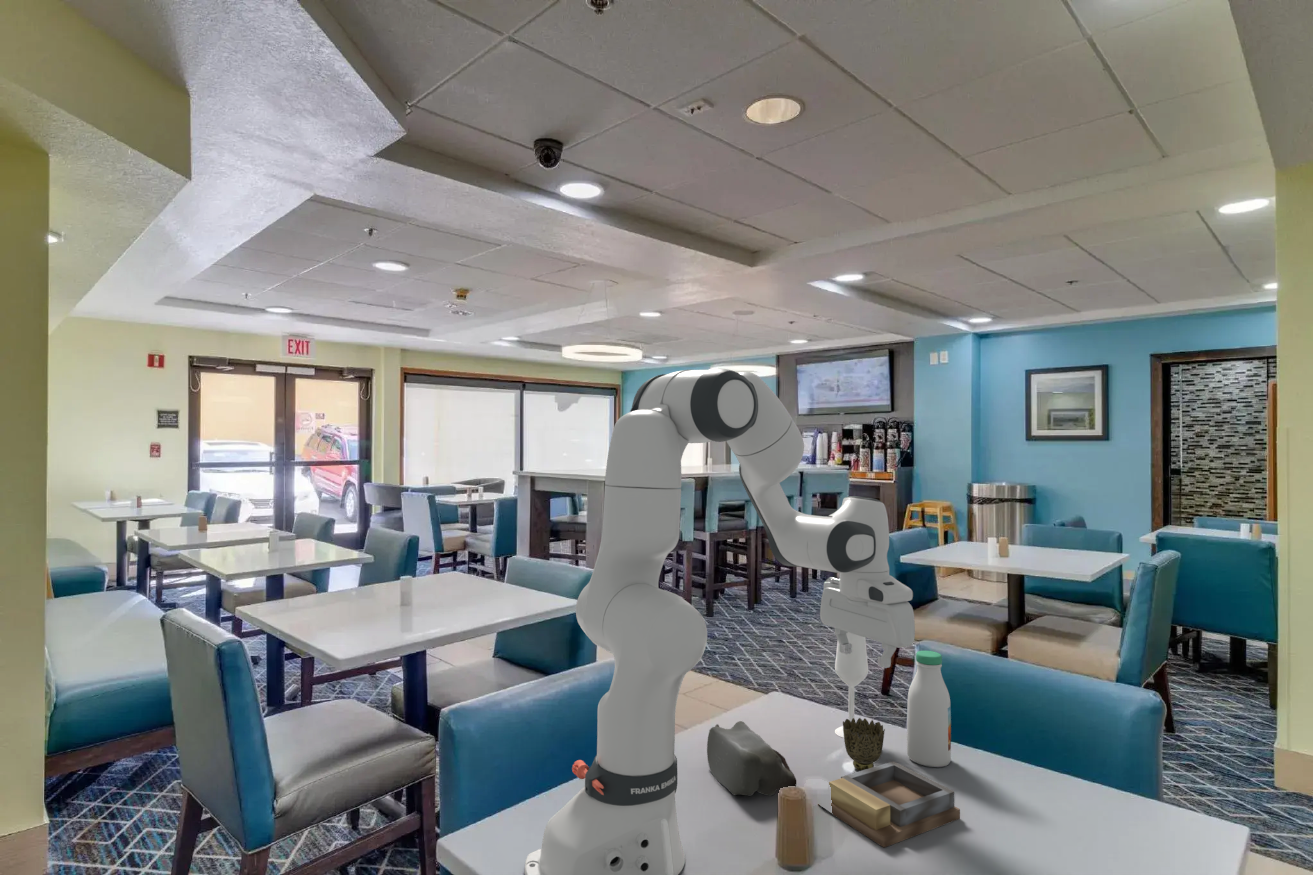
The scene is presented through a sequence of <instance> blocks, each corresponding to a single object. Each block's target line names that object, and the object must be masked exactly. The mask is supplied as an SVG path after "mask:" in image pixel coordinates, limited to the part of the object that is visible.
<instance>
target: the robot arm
mask: <svg viewBox="0 0 1313 875" xmlns="http://www.w3.org/2000/svg"><path fill="white" fill-rule="evenodd" d="M710 442H711V443H712V442H716V443H717V442H718V443H722V442H723V443H724V442H726V444H727V445H728V446H729V448H730V450H731V451H732V453H733V455H734V456H735V458H736V460H737V461H738V464H739V466H738V472H739V473H738V474H739V477H740V480H741V484H742V485H743V489H744V490H745V492H746V494H747V496H748V498H749V500H750V502H751V505H752V506H753V508H754V509H755V511H756V513H757V515H758V517H759V520H760V521H761V523H762V526H763V527H764V530H765V534H766V537H767V542H768V544H769V547H770V550H771V552H772V555H773V557H774V558H775V559H776V560H777V561H778V562H779V563H780V564H782V565H784V566H786V567H796V568H797V567H799V568H807V569H813V570H818V571H824V572H825V571H826V572H831V573H836V574H837V573H838V574H839V578H836V577H835V576H834V577H833V576H830V577H828V578H827V579H825V581H824V582H823V591H822V594H821V601H820V610H819V618H820V621H821V622H822V624H823V625H824V626H825V625H826V626H828V627H831V628H834V635H835V637H836V639H837V641H838V642H839V643H840V652H841V653H844V654H850V653H851V652H852V649H851V648H852V644H851V643H849V642H848V638H847V635H846V633H848V632H850V633H853V634H856V635H859V636H862V637H865V638H866V639H869V640H872V641H875V642H878V643H881V649H883V652H882V654H881V655H878V656H877V666H878V667H881V668H883V669H887V668H890V667H891V666H892V664H891V663H892V657H893V655H894V653H895V652H896V650H897V648H899V649H901V648H906V647H907V648H908V647H910V646H912V644H913V643H914V641H915V638H916V636H915V634H916V633H915V632H916V624H915V612H914V609H913V606H912V604H910V602H909V601H912V600H913V597H914V592H913V590H912V588H910V587H909V586H907V585H906V584H904V583H902V582H901V581H899V580H897V579H896V578H895V577H894V576H892V575H890V565H889V562H888V551H889V547H890V526H889V518H888V512H887V508H886V505H885V503H883V502H882V501H881V500H879V499H876V498H872V497H864V496H852V495H851V496H845V497H844V498H843V499H842V502H841V503H842V504H841V506H840V507H839V508H838V509H837V510H836V511H835V512H833V513H831V514H829V515H828V516H824V515H823V516H822V515H815V514H807V513H804V512H802V511H801V512H800V511H798V510H796V509H794V507H792V506H791V504H790V501H789V500H788V498H787V496H786V493H785V492H784V490H783V487H782V485H781V482H783V481H785V480H786V479H787V478H788V477H789V476H791V475H792V474H793V473H794V472H795V470H796V469H797V468H798V466H799V465H800V463H801V461H802V459H803V455H804V451H805V443H804V438H803V435H802V433H801V431H800V429H799V427H798V426H797V424H796V422H795V420H794V419H793V418H792V416H791V414H790V412H789V411H788V410H787V408H786V406H785V405H784V404H783V402H782V401H781V400H780V399H779V397H778V396H777V394H775V392H774V391H773V390H772V389H771V388H770V387H769V385H768V384H767V383H766V382H765V381H764V380H763V379H762V378H761V377H760V376H759V375H757V374H756V373H753V372H750V371H740V372H737V371H734V370H731V369H728V368H719V367H718V368H717V367H715V368H710V369H683V370H679V371H678V370H677V371H673V372H670V373H662V374H657V375H656V376H653V377H651V378H649V379H647V380H645V382H644V383H642V384H641V386H639V388H638V389H637V391H636V393H635V395H634V398H633V401H632V405H631V408H630V410H629V412H627V413H625V414H624V415H622V416H620V417H619V418H618V419H617V421H616V423H614V426H613V431H612V433H611V438H610V442H609V447H608V452H607V459H606V467H605V476H604V477H605V479H604V496H603V497H604V499H603V512H602V513H603V515H602V527H601V528H602V530H601V539H600V544H599V550H598V554H597V557H596V559H595V560H596V561H595V564H594V567H593V571H592V574H591V576H590V580H589V581H588V582H587V584H586V585H585V586H584V587H583V588H582V590H581V592H580V593H579V595H578V597H577V601H576V605H575V615H576V616H575V617H576V620H577V623H578V625H579V626H580V628H581V630H582V631H583V633H585V635H586V637H588V639H589V640H590V641H591V642H592V643H593V644H594V645H596V646H597V647H599V648H601V649H602V650H604V651H606V652H608V653H610V654H612V657H613V659H614V670H613V675H612V679H611V680H612V681H611V684H610V687H609V690H608V691H607V692H606V693H605V694H603V695H602V697H601V698H600V700H599V702H598V705H597V720H596V721H597V726H596V727H597V728H596V729H597V731H596V736H597V737H596V738H597V739H596V755H595V757H594V758H593V761H592V764H591V765H590V766H588V764H586V762H585V761H584V760H582V759H578V760H576V761H574V762H573V764H572V767H571V770H572V773H573V774H574V775H575V776H576V777H577V778H578V779H579V780H584V786H583V787H582V788H581V789H580V790H579V791H578V792H577V793H576V794H575V795H574V796H573V797H572V798H570V799H569V801H568V802H567V803H566V804H564V806H563V807H562V808H560V809H559V810H558V811H557V812H556V813H554V815H552V816H551V817H550V818H549V820H548V822H547V823H546V825H545V828H544V832H543V836H542V842H541V846H540V847H541V848H538V849H537V850H534V851H532V852H530V853H528V854H527V855H526V858H525V862H524V875H679V874H680V873H681V872H682V870H683V868H684V867H685V863H686V855H685V851H684V848H683V844H682V838H681V836H680V830H679V824H678V823H679V822H678V815H677V806H676V805H677V804H676V792H677V790H678V758H677V756H676V754H675V743H676V742H675V739H676V738H675V736H676V735H675V734H676V713H677V712H676V710H677V703H678V697H679V693H680V689H681V686H682V684H683V681H684V679H685V676H686V674H687V673H689V672H690V671H691V670H693V668H695V667H696V666H697V665H698V663H699V662H700V661H701V659H702V657H703V655H704V652H705V650H706V646H707V643H708V642H707V641H708V629H707V624H706V620H705V619H704V617H703V615H702V614H701V613H700V611H699V610H697V608H695V607H694V606H693V605H692V604H691V603H689V602H688V601H687V600H685V599H684V598H683V597H682V596H680V595H678V594H677V593H674V592H670V591H668V590H664V589H662V588H659V583H660V582H659V580H660V575H661V571H662V568H663V565H664V563H665V560H666V559H667V557H668V555H669V554H670V553H671V552H672V551H673V550H674V549H675V548H676V546H677V545H678V542H679V539H680V524H681V523H680V522H681V521H680V520H681V500H682V458H683V455H684V452H685V450H686V448H687V446H688V444H704V443H705V444H706V443H710Z"/></svg>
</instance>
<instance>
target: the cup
mask: <svg viewBox="0 0 1313 875" xmlns="http://www.w3.org/2000/svg"><path fill="white" fill-rule="evenodd" d="M842 726H843V733H844V738H843V740H844V741H843V742H844V748H845V750H846V753H847V755H848V757H849V758H850V759H851V760H853V761H852V764H853V767H854V768H855V770H857V771H858V772H859V771H862V770H865V769H869V768H872V767H875V764H874V763H876V762H877V761H878V760H879V759H880V757H881V756H882V752H883V746H884V738H885V731H886V728H884V725H883V724H881V722H880V721H877V722H874V719H871V721H870V722H869V721H868V720H867V718H863V719H862V718H861V717H859V718H858V719H857V720H855V717H854V718H853V719H852V721H850V720H848V718H846V719H845V720H844V721H842Z"/></svg>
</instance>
